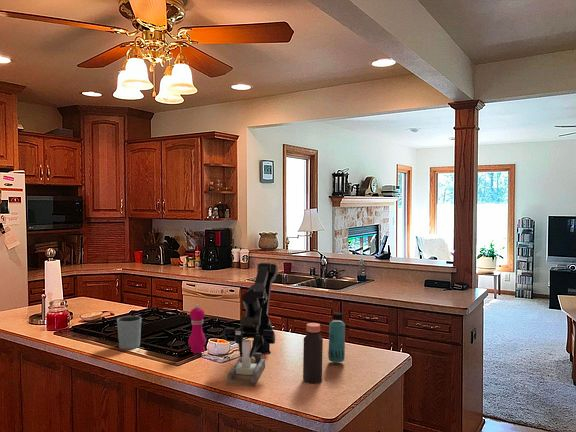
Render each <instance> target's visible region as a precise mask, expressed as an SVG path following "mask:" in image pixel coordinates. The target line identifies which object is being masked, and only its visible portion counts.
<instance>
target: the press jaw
mask: <svg viewBox="0 0 576 432" xmlns="http://www.w3.org/2000/svg"><path fill="white" fill-rule="evenodd" d="M251 348H252V340H250V339H243V341H242V357H241V358H242V363H239V364H238V366H237V367H236V374H243V375H252V374H253V372H254V371H255V369H256V367H257V364H252V363H251V358H250V352H251Z"/></svg>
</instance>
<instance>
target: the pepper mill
mask: <svg viewBox="0 0 576 432" xmlns="http://www.w3.org/2000/svg"><path fill="white" fill-rule="evenodd" d="M205 316H206V315H205V310H204V309H203V308H201V307H200V305H199V304H198V303H196V304H195V306H194V308H193V309H191V310H190V312H189V317H190V319H191V322H190V324H191V326H192V329H191V333H190V334H189V337H188V341H187V342H188V346H189V348H190V347H191V349H190V350H191V352H193V353H201V352H204V351H205V350H206V349H205V345H206V343H207V339H206V336H205V333H204V331H203V324H204V318H205ZM204 353H205V352H204Z"/></svg>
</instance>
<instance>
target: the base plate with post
mask: <svg viewBox="0 0 576 432" xmlns="http://www.w3.org/2000/svg"><path fill="white" fill-rule="evenodd" d="M253 357H254V358H255V364H257V367H256V369H255V371H254V372H253V374H252V375H243V374H236V367H237V366H238V364H239V363H242V357H240V356H239V358H238V359H237V360H236V361H235V363H234V365H233V366H232V368H230V370H229V372H228V373H227V374H226V385H228V386H241V387H242V386H245V387H256V386H257V383H259V380H260V379H261V377H262V374H263V373H264V371H265V369H266V358H262V354H261V353H254V355H253Z"/></svg>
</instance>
